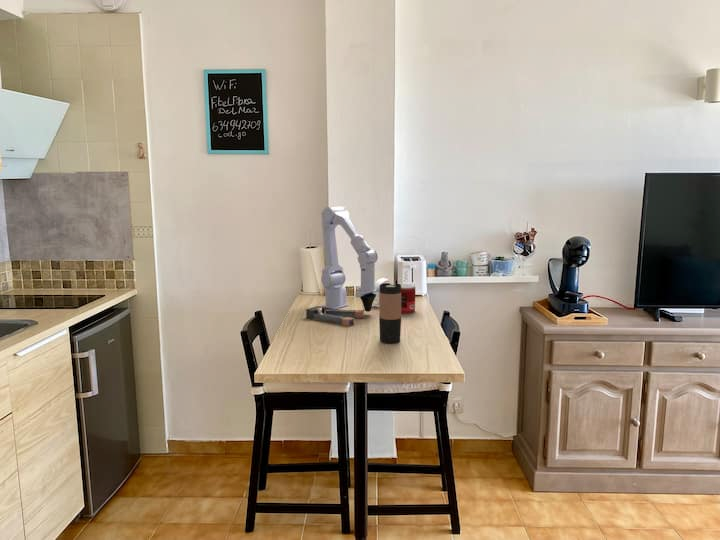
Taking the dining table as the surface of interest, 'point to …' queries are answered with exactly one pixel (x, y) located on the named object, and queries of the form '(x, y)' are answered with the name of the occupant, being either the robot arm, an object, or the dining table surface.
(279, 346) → the dining table surface
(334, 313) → the tong arm
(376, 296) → the headphone stand
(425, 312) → the dining table surface
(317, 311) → the tongs base
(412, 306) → the canned food
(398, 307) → the travel mug
